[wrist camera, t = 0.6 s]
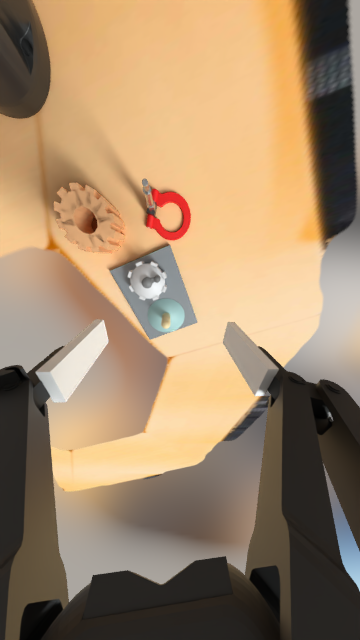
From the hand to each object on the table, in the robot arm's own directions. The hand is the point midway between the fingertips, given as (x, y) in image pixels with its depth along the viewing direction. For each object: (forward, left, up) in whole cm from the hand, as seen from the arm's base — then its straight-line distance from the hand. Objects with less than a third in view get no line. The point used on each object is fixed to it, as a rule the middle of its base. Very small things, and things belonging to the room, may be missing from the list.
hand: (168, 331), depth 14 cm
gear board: (+2, -4, -24) cm, 24 cm away
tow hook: (-14, +6, -24) cm, 29 cm away
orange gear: (-18, -9, -24) cm, 31 cm away
